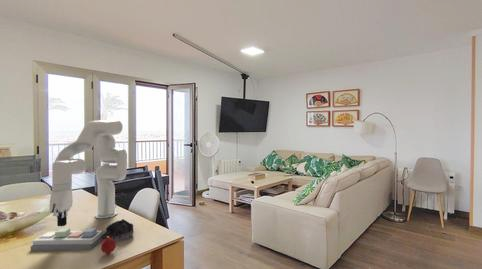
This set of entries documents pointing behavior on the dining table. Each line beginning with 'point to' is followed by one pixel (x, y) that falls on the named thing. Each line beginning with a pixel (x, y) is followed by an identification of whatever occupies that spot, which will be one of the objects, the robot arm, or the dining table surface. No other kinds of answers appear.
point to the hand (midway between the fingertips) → (61, 225)
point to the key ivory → (48, 235)
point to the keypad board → (66, 247)
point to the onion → (108, 245)
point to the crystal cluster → (119, 230)
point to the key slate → (89, 232)
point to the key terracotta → (76, 235)
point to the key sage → (62, 232)
